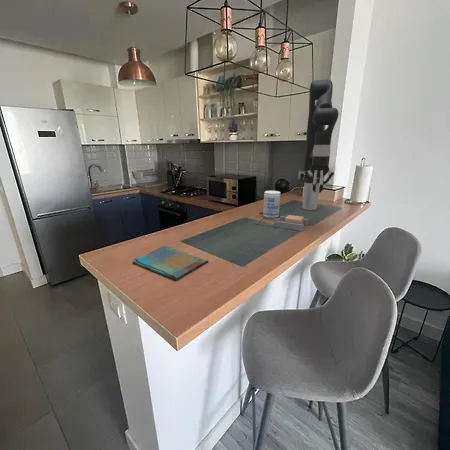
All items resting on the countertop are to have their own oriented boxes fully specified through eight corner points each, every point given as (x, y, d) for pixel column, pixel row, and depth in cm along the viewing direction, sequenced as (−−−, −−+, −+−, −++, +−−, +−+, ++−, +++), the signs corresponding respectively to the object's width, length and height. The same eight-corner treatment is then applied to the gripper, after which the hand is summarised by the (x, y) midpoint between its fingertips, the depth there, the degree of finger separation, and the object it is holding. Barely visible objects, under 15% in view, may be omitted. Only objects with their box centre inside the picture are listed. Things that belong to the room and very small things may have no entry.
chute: (280, 220, 140) (280, 215, 139) (307, 224, 133) (308, 219, 132) (273, 226, 131) (274, 221, 130) (302, 231, 124) (303, 225, 123)
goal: (262, 218, 145) (262, 217, 145) (279, 220, 141) (279, 219, 140) (255, 224, 136) (255, 223, 135) (272, 226, 131) (272, 225, 131)
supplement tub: (267, 218, 144) (268, 193, 140) (260, 214, 153) (261, 191, 148) (282, 217, 147) (283, 192, 142) (274, 213, 156) (275, 189, 151)
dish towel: (167, 249, 106) (166, 243, 106) (209, 263, 93) (209, 257, 93) (132, 264, 93) (131, 258, 92) (175, 283, 80) (175, 276, 79)
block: (287, 223, 136) (288, 214, 135) (302, 225, 133) (303, 216, 131) (284, 227, 130) (285, 218, 129) (300, 229, 127) (300, 220, 125)
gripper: (338, 154, 115) (333, 191, 121) (307, 154, 122) (304, 189, 127) (336, 155, 109) (331, 194, 114) (304, 155, 115) (301, 192, 121)
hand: (317, 192), depth 121 cm, fingers closed
